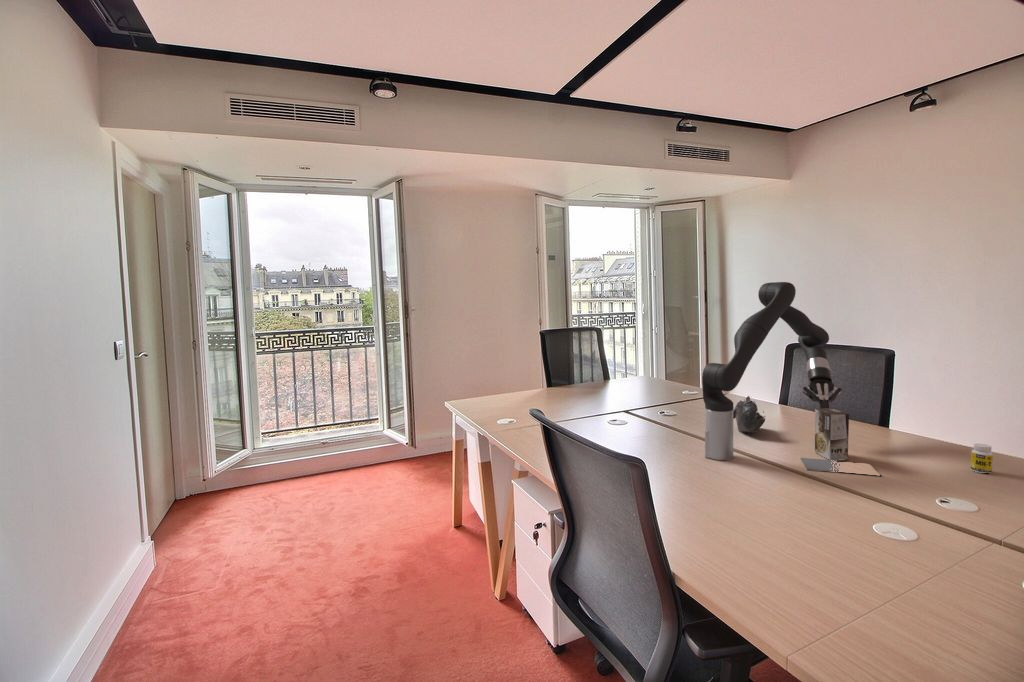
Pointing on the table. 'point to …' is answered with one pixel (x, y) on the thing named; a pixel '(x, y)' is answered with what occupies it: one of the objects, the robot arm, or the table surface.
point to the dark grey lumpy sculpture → (748, 416)
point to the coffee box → (831, 433)
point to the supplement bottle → (981, 458)
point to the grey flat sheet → (819, 464)
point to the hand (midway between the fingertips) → (825, 410)
